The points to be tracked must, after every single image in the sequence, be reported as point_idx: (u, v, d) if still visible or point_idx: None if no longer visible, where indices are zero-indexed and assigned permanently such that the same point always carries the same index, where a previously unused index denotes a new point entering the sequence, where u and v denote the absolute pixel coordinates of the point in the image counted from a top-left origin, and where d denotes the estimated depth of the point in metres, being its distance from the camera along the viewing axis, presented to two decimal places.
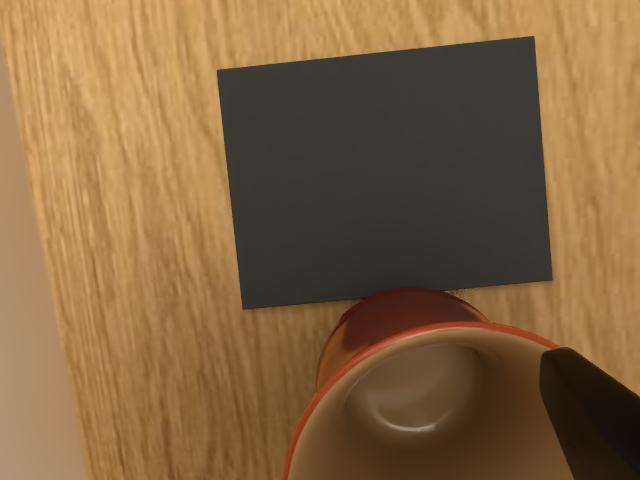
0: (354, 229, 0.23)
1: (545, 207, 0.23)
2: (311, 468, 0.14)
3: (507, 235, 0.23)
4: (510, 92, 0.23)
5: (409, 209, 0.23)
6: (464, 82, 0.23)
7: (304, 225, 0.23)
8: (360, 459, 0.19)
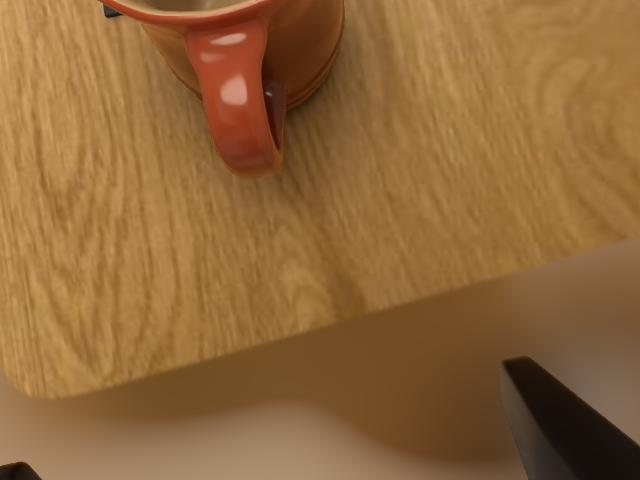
0: None
1: None
2: None
3: None
4: None
5: None
6: None
7: None
8: None
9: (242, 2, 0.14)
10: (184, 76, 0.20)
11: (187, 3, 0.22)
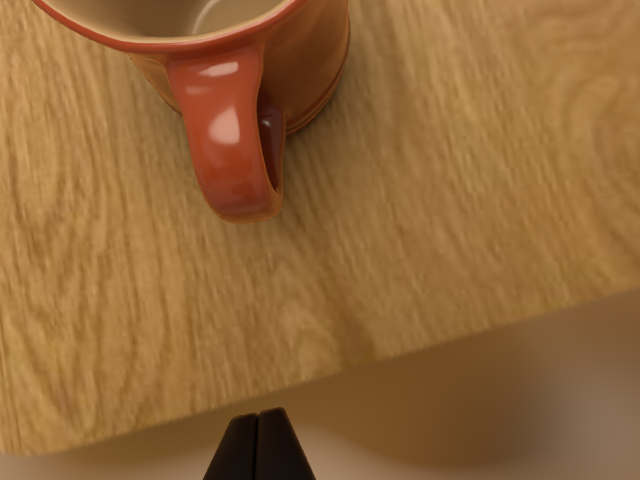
0: None
1: None
2: None
3: None
4: None
5: None
6: None
7: None
8: None
9: (233, 26, 0.11)
10: (171, 101, 0.18)
11: (175, 18, 0.20)
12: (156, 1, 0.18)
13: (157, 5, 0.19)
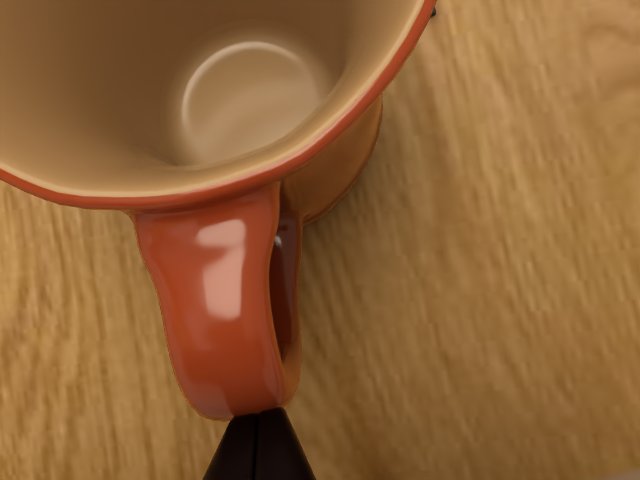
0: None
1: None
2: None
3: None
4: None
5: None
6: None
7: None
8: (144, 145, 0.13)
9: (234, 171, 0.07)
10: None
11: (161, 84, 0.16)
12: (135, 68, 0.14)
13: (136, 74, 0.14)
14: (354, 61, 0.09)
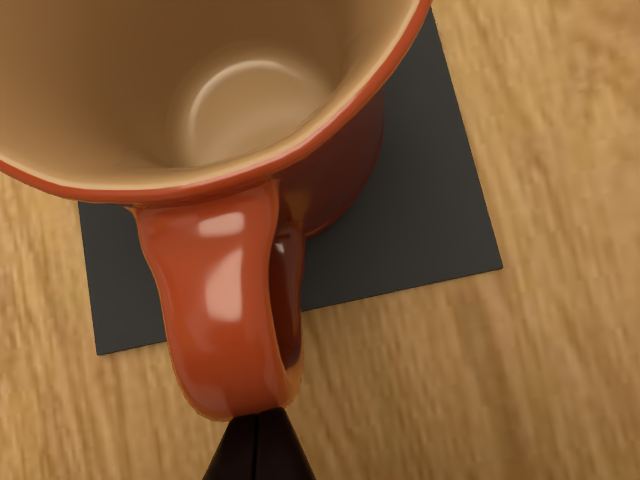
0: None
1: (475, 175, 0.18)
2: None
3: (432, 216, 0.17)
4: None
5: None
6: None
7: None
8: (150, 156, 0.13)
9: (234, 164, 0.07)
10: None
11: (167, 101, 0.16)
12: (142, 84, 0.15)
13: (143, 90, 0.15)
14: (353, 64, 0.09)
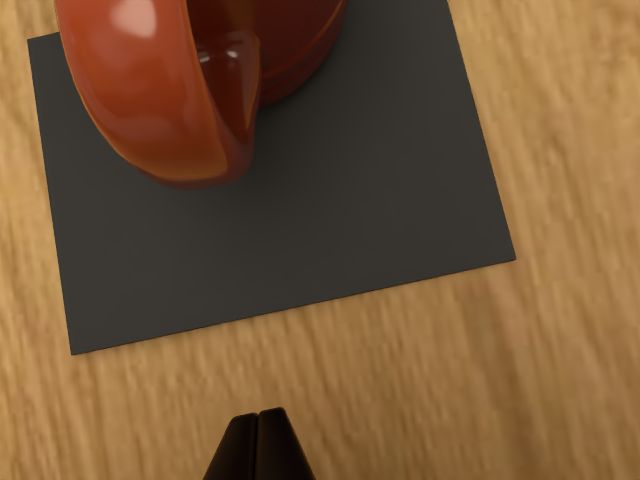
0: (221, 221, 0.16)
1: (486, 156, 0.16)
2: None
3: (439, 202, 0.16)
4: (411, 14, 0.17)
5: (295, 184, 0.16)
6: (349, 10, 0.17)
7: (151, 224, 0.16)
8: None
9: None
10: None
11: None
12: None
13: None
14: None
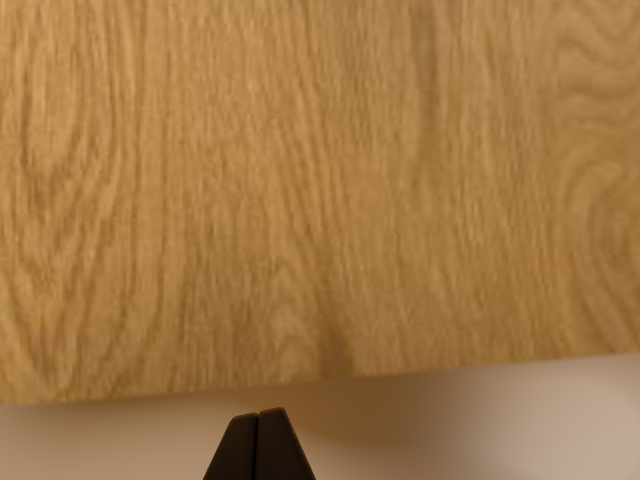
0: None
1: None
2: None
3: None
4: None
5: None
6: None
7: None
8: None
9: None
10: None
11: None
12: None
13: None
14: None
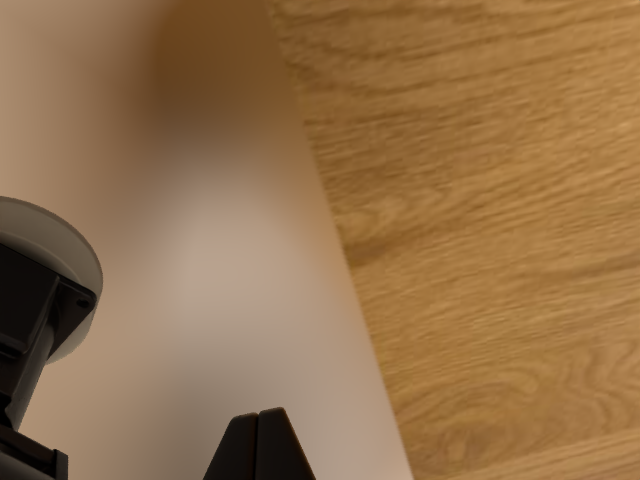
0: None
1: None
2: None
3: None
4: None
5: None
6: None
7: None
8: None
9: None
10: None
11: None
12: None
13: None
14: None
